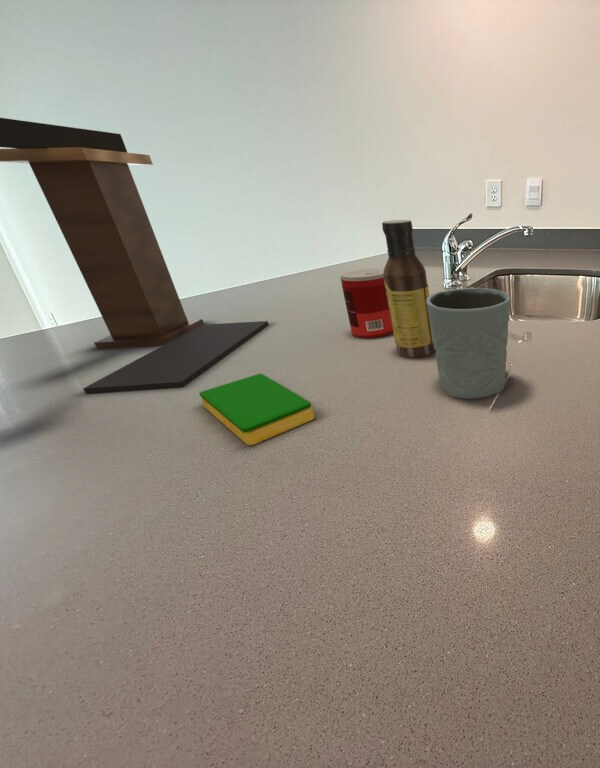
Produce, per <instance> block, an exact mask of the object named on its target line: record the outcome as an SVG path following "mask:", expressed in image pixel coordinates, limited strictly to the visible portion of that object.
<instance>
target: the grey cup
mask: <svg viewBox="0 0 600 768" xmlns="http://www.w3.org/2000/svg"><path fill="white" fill-rule="evenodd" d="M426 303H427V309H428V315H429V319H430V326H431V332H432V339H433V344H434V349H435V361H436V366H437V371H438V378H439V386H440V389H441V391H442V392H443V393H444V394H446V395H448V396H450V397H452V398H458V399H468V400H469V399H479V398H486V397H489V396H492V395H494V394H495V395H498V394H501V393H502V391H503V390H504V389H505V386H506V371H507V370H506V368H507V356H508V350H507V346H508V339H509V322H510V311H511V297H510V295H509V294H508V293H506V292H505V291H502V290H499V289H495V288H486V287H460V288H451V289H446V290H442V291H438V292H434V293H432V294H429V297H428V298H427V300H426Z"/></svg>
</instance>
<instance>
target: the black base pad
mask: <svg viewBox="0 0 600 768" xmlns="http://www.w3.org/2000/svg"><path fill="white" fill-rule="evenodd" d="M269 325H270V324H269V321H268V320H263V321H261V320H260V321H259V320H258V321H243V322H241V321H240V322H226V323H225V322H224V323H207V324H205V323H204V325H201V326H199V327H197V328H195V329H193V330H191V331H189V332H188V333H186V334H184V335H182V336H180V337H178V338H176V339H175V340H173V341H171V342H169V343H167V344H165V345H160V347H158V348H156V349H154V350H153V351H150V352H148V353H146V354H145V355H143V356H141V357H139V358H137V359H135V360H133V361H132V362H130V363H128V364H126V365H124V366H122V367H120V368H119V369H117V370H115V371H113V372H111V373H109V374H107V375H105V376H103V377H102V378H100V379H98V380H97V381H94V382H92V383H90V384H89V385H87V386H85V387H83V388H82V389H83V391H84V393H85V394H86V395H92V394H105V393H106V394H107V393H120V392H121V393H122V392H137V391H149V390H150V391H151V390H165V389H180V388H185V387H186V386H187V385H189V384H190V383H191V382H193V381H194V380H196V379H197V378H198V377H200V376H201V375H203V374H204V373H205V372H207V371H208V370H209V369H211V368H212V367H213V366H215V365H216V364H218V363H219V362H220V361H222V360H223V359H224V358H225V357H227V356H228V355H230V354H231V353H233V352H234V351H235V350H237V349H238V348H240V347H241V346H242V345H244V344H245V343H246V342H247V341H249V340H251V339H252V338H253V337H255V336H256V335H258V334H259V333H260V332H261V331H263V330H265V329H266V328H267V327H268V326H269Z"/></svg>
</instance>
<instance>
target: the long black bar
mask: <svg viewBox="0 0 600 768" xmlns="http://www.w3.org/2000/svg"><path fill="white" fill-rule="evenodd" d="M0 148H4V149H13V148H90V149H99V150H108V151H117V152H126V153H129V152H128V150H127V147H126V145H125V142H124V138H123V137H122V134H121V133H116V132H110V131H109V132H108V131H101V130H94V129H86V128H78V127H72V126H64V125H59V124H57V125H56V124H50V123H43V122H36V121H29V120H21V119H15V118H6V117H0Z"/></svg>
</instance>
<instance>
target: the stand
mask: <svg viewBox="0 0 600 768" xmlns="http://www.w3.org/2000/svg"><path fill="white" fill-rule="evenodd" d="M0 163H16V164H29V166H30V168H31V170H32V172H33V175H34V177H35V178H36V181H37V183H38V185H39V187H40V190H41V191H42V194H43V196H44V197H45V200H46V202H47V204H48V206H49V209H50V211H51V213H52V214H53V217H54V219H55V221H56V223H57V225H58V227H59V230H60V231H61V234H62V236H63V238H64V240H65V242H66V244H67V246H68V248H69V250H70V252H71V255H72V256H73V259H74V260H75V263H76V265H77V267H78V269H79V271H80V274H81V276H82V277H83V280H84V282H85V284H86V286H87V288H88V290H89V292H90V295H91V296H92V299H93V301H94V303H95V305H96V307H97V309H98V311H99V313H100V315H101V318H102V320H103V322H104V324H105V326H106V328H107V330H108V332H109V335H108V336H107V337H104V338H102V339H100V340H97V341H94V343H93V344H94V346H95V348H96V350H101V349H103V350H104V349H121V348H136V347H137V348H138V347H154V346H163V345H165V344H167V343H169V342H171V341H173V340H175V339H176V338H178V337H180V336H182V335H184V334H186V333H188V332H189V331H191V330H193V329H195V328H197V327H199V326H201V325H204V324H205V323H204V320H203V318H194V319H193V318H192V319H188V318H187V314H186V313H185V309H184V308H183V305H182V302H181V300H180V297H179V294H178V291H177V289H176V287H175V283H174V281H173V279H172V278H173V277H172V276H171V273H170V271H169V268H168V266H167V263H166V260H165V258H164V255H163V253H162V250H161V247H160V246H159V242H158V239H157V237H156V234H155V232H154V229H153V227H152V224H151V222H150V219H149V216H148V214H147V211H146V209H145V205H144V203H143V200H142V198H141V195H140V192H139V190H138V188H137V184H136V182H135V180H134V177H133V174H132V171H131V169H130V166H153V165H154V163H153V162H152V158H151V155H150V154H145V153H134V152H128V153H126V152H117V151H108V150H99V149H90V148H0Z"/></svg>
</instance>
